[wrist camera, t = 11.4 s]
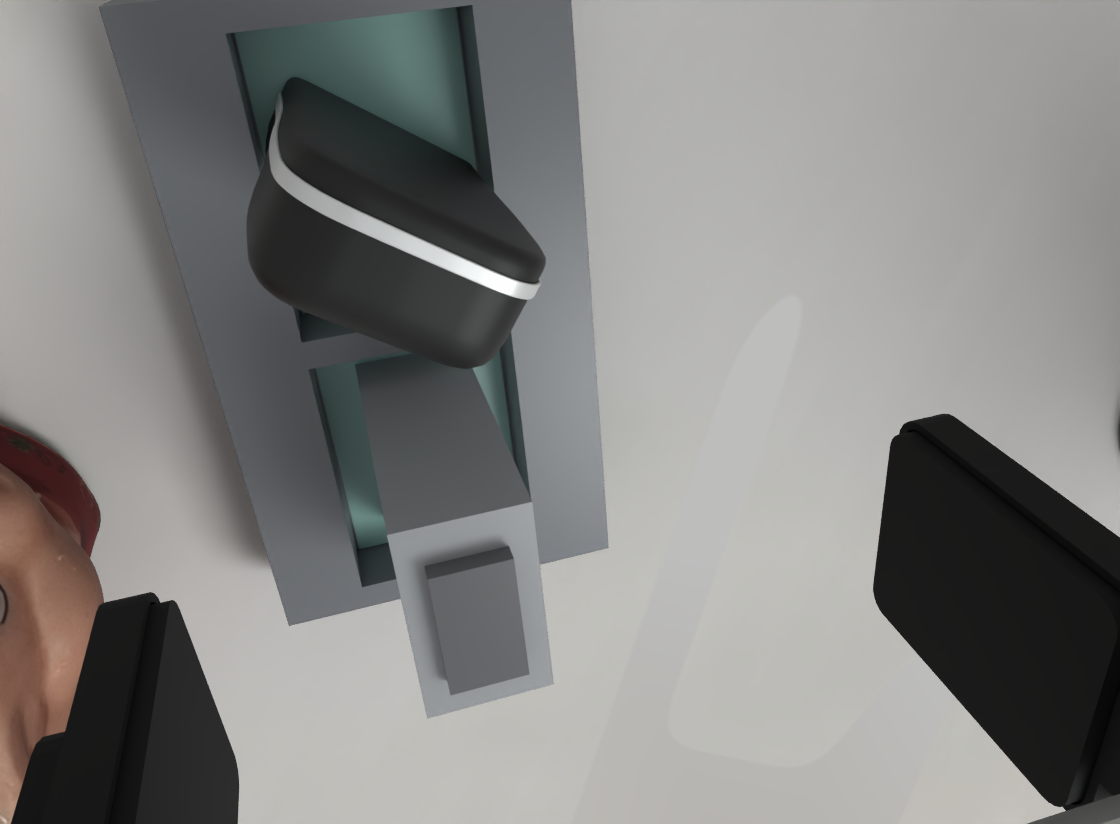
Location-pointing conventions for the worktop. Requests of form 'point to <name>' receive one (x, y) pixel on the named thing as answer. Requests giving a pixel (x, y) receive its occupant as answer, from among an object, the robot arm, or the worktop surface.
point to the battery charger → (386, 232)
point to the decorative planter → (41, 599)
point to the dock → (376, 367)
